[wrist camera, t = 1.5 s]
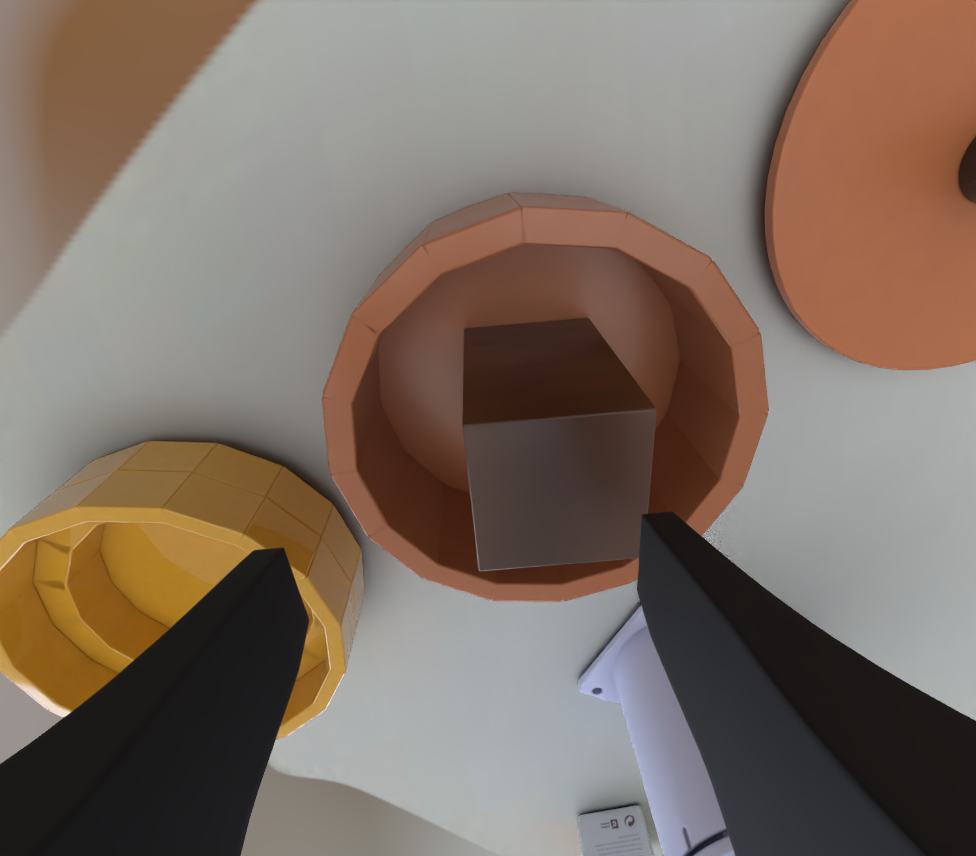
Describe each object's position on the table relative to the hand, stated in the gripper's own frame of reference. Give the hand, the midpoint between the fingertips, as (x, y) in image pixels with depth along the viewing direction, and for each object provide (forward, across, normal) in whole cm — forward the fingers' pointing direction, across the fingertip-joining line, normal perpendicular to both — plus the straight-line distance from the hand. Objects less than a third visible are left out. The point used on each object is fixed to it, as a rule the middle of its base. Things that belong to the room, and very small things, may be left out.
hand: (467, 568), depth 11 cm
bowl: (+9, +11, +7) cm, 16 cm away
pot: (+9, -2, 0) cm, 10 cm away
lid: (+9, -16, -6) cm, 19 cm away
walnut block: (+9, -2, 0) cm, 9 cm away
